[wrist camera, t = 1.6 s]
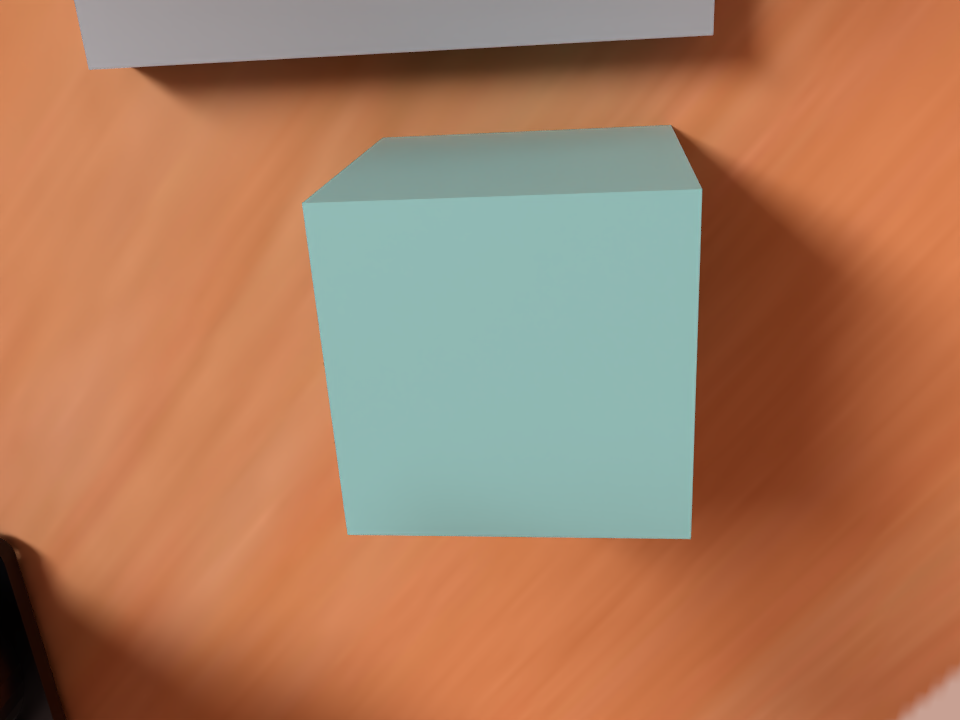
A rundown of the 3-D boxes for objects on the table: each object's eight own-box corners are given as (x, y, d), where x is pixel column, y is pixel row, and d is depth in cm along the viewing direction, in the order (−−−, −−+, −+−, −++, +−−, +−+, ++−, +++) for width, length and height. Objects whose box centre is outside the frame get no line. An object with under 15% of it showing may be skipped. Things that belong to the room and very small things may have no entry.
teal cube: (665, 390, 18) (690, 539, 13) (408, 392, 18) (347, 534, 14) (670, 124, 16) (702, 189, 11) (383, 136, 16) (302, 203, 12)
